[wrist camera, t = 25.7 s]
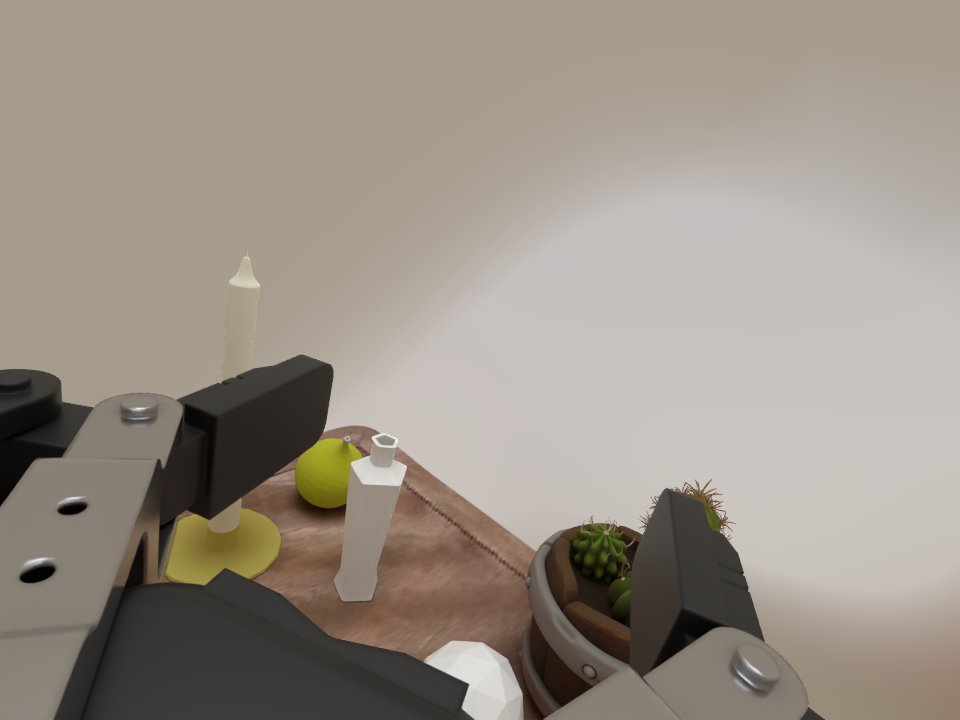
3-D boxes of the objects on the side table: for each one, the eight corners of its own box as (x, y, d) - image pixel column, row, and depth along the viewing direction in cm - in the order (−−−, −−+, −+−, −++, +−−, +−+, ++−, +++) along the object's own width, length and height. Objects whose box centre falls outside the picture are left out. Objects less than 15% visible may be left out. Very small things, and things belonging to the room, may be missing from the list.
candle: (283, 583, 43) (326, 278, 34) (144, 597, 39) (152, 253, 30) (280, 507, 52) (314, 246, 43) (165, 511, 47) (176, 223, 38)
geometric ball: (473, 782, 35) (557, 783, 30) (372, 784, 31) (452, 785, 26) (473, 657, 40) (546, 641, 35) (386, 644, 36) (456, 624, 31)
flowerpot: (552, 829, 31) (671, 582, 25) (472, 621, 44) (535, 422, 38) (721, 773, 37) (853, 561, 31) (606, 603, 50) (681, 429, 44)
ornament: (342, 531, 51) (358, 446, 47) (277, 509, 51) (288, 423, 48) (369, 492, 57) (385, 415, 54) (312, 473, 58) (324, 396, 55)
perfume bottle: (351, 616, 42) (383, 464, 37) (320, 583, 44) (346, 435, 39) (393, 590, 45) (427, 447, 40) (362, 560, 48) (390, 422, 43)
